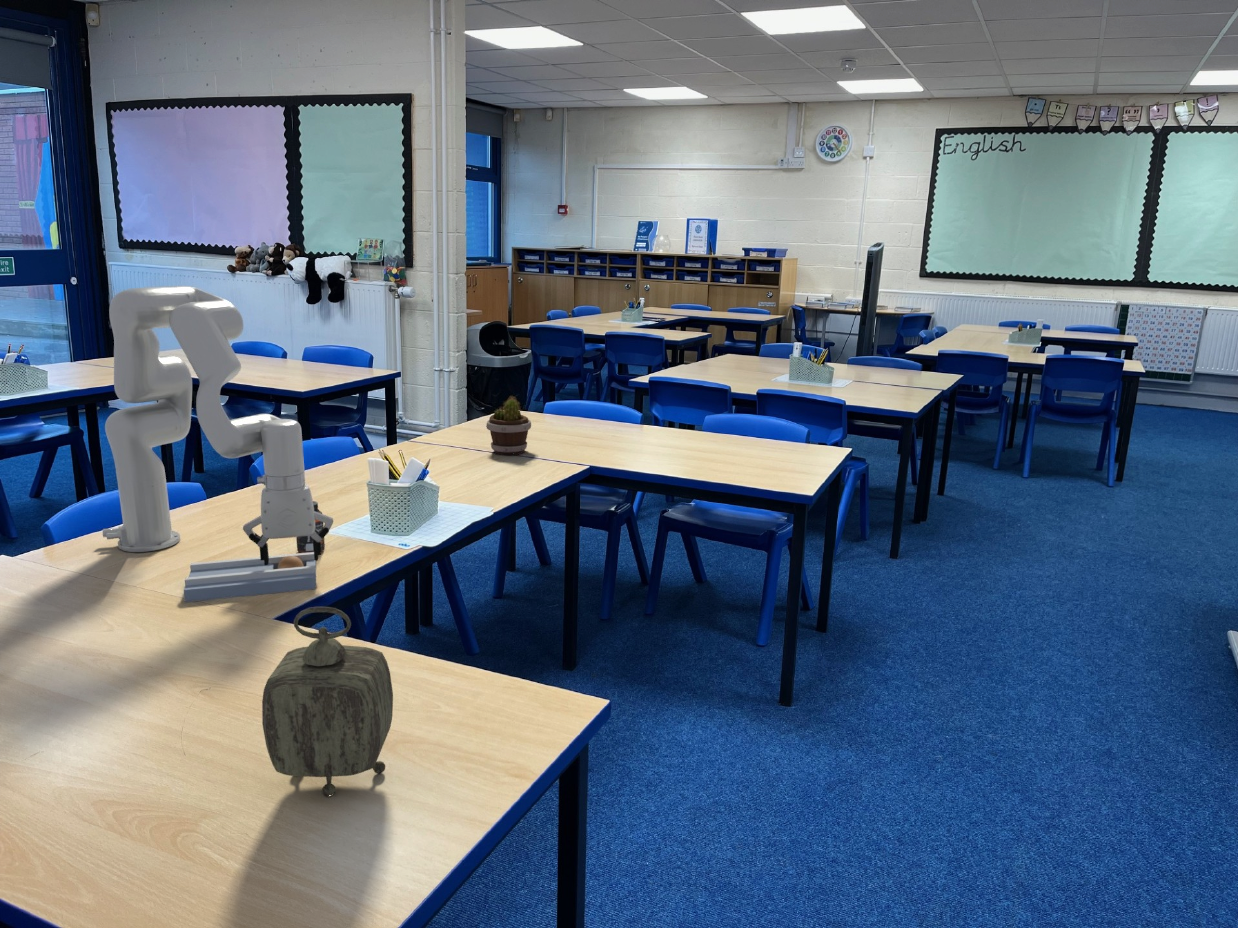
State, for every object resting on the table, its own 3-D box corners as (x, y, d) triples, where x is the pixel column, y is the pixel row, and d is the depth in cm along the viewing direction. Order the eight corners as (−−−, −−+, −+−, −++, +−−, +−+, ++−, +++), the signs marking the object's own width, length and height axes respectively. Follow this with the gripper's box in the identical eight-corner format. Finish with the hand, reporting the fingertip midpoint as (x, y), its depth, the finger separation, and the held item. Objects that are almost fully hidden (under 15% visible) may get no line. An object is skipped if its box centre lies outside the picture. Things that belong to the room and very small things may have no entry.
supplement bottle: (316, 556, 194) (312, 508, 191) (292, 554, 195) (288, 506, 192) (330, 547, 199) (327, 500, 196) (306, 545, 200) (303, 498, 197)
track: (185, 602, 169) (182, 584, 168) (194, 575, 181) (192, 559, 181) (316, 588, 176) (314, 571, 175) (316, 564, 189) (314, 548, 188)
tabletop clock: (396, 765, 118) (387, 593, 112) (381, 807, 110) (370, 624, 103) (288, 765, 118) (273, 593, 111) (264, 808, 109) (246, 623, 103)
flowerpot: (482, 448, 295) (481, 389, 290) (527, 445, 300) (527, 388, 294) (489, 458, 282) (488, 397, 277) (536, 455, 286) (536, 395, 281)
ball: (281, 586, 178) (274, 564, 176) (282, 578, 183) (274, 556, 181) (306, 578, 179) (299, 557, 178) (306, 570, 184) (299, 549, 182)
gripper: (237, 489, 170) (245, 571, 174) (330, 482, 175) (336, 563, 179) (240, 479, 177) (247, 558, 181) (330, 473, 182) (335, 550, 186)
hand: (291, 560), depth 180 cm, fingers open, 9 cm apart
